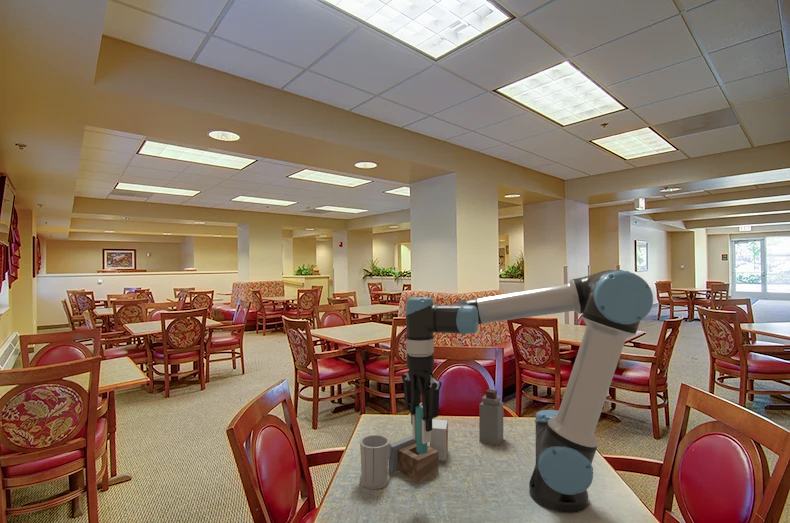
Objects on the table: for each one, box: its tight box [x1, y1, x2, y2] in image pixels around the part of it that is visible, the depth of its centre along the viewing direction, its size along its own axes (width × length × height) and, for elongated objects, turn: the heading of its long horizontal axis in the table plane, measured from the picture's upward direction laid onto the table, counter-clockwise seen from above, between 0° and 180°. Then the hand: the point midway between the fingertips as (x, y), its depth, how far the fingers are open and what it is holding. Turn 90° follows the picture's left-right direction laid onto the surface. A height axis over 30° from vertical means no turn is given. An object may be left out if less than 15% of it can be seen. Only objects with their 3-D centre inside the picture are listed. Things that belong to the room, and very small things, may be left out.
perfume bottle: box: [478, 388, 504, 447], centre depth 144 cm, size 7×7×18 cm
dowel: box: [416, 404, 428, 454], centre depth 107 cm, size 3×3×12 cm
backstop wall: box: [388, 434, 416, 474], centre depth 126 cm, size 2×13×8 cm, turn 131°
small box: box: [429, 418, 449, 462], centre depth 133 cm, size 8×6×10 cm
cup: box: [359, 434, 391, 490], centre depth 117 cm, size 10×9×12 cm
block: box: [397, 442, 440, 483], centre depth 122 cm, size 9×9×6 cm
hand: (421, 439), depth 107 cm, fingers closed on dowel, 3 cm apart
